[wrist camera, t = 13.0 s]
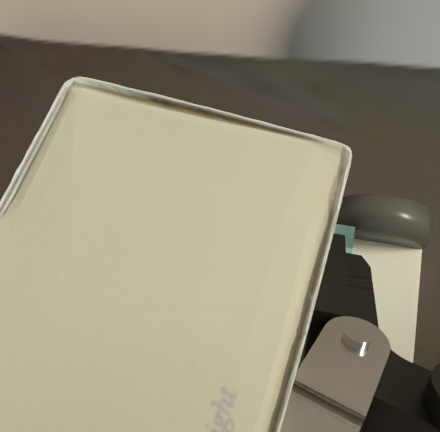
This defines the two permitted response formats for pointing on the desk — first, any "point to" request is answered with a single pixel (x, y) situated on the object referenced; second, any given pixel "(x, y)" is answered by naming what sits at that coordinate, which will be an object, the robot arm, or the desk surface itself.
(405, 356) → the toy car chassis
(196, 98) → the desk surface
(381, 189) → the desk surface
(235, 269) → the skincare box
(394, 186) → the desk surface
